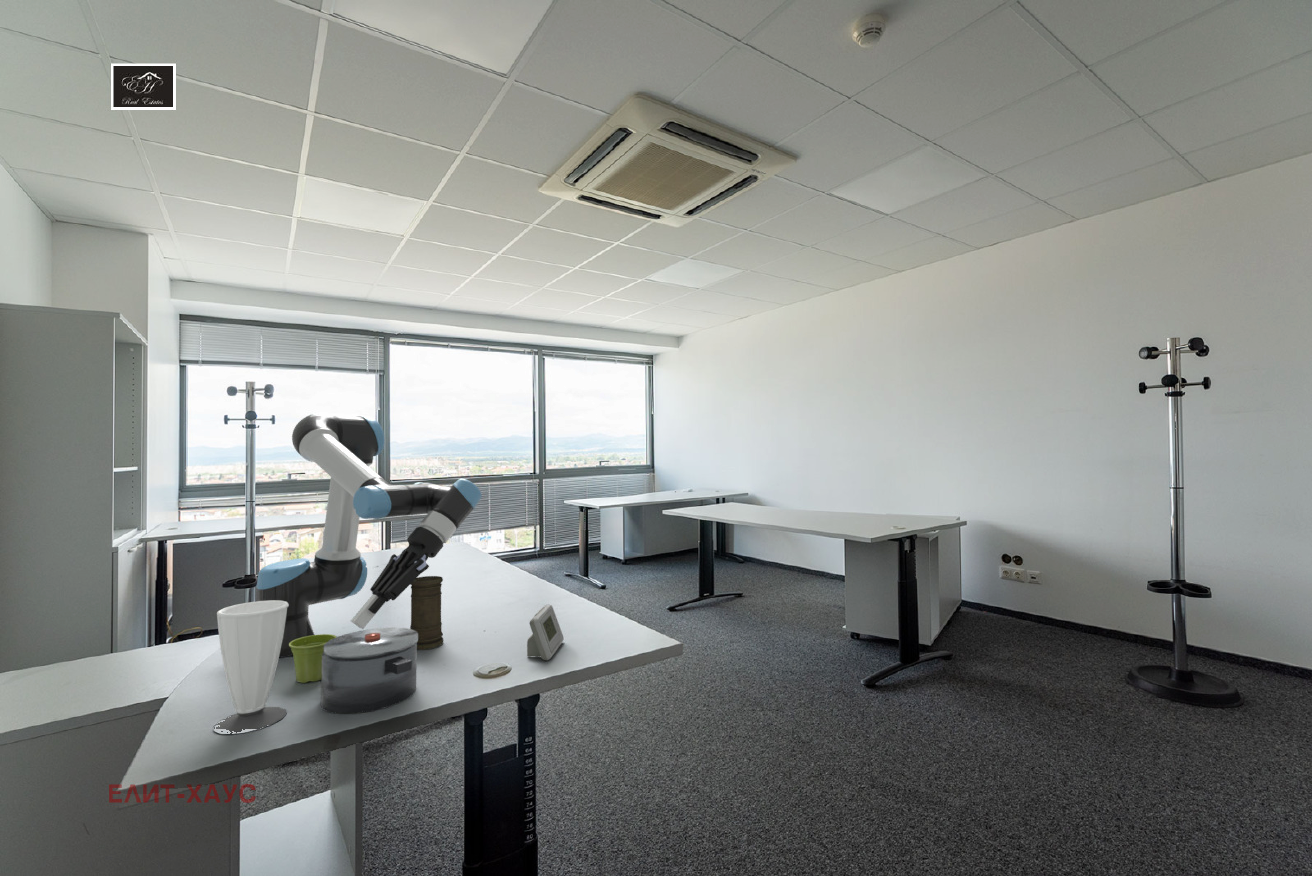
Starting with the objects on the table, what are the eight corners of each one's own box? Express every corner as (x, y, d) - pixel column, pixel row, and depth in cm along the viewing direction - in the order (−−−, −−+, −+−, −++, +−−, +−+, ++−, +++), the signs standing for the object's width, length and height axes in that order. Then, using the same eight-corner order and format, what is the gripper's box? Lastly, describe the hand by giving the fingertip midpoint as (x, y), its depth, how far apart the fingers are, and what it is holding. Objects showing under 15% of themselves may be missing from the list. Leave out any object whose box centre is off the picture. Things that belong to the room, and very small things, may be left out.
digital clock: (548, 663, 135) (548, 619, 136) (515, 660, 137) (515, 617, 138) (574, 643, 151) (574, 603, 152) (544, 640, 153) (544, 602, 154)
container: (433, 650, 146) (434, 582, 147) (401, 650, 147) (402, 581, 148) (449, 640, 155) (450, 575, 156) (419, 639, 156) (419, 575, 157)
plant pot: (345, 673, 130) (345, 636, 131) (308, 688, 121) (309, 648, 122) (315, 669, 133) (316, 632, 134) (278, 683, 124) (279, 644, 125)
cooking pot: (296, 694, 118) (297, 647, 119) (380, 669, 133) (381, 627, 133) (357, 728, 102) (358, 673, 103) (444, 695, 117) (445, 647, 117)
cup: (263, 733, 101) (266, 613, 102) (196, 736, 100) (200, 615, 101) (299, 706, 112) (301, 599, 113) (239, 709, 111) (242, 600, 112)
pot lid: (308, 648, 116) (308, 637, 116) (391, 628, 131) (392, 619, 131) (348, 665, 106) (348, 654, 106) (434, 642, 120) (434, 631, 120)
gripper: (457, 547, 127) (385, 640, 113) (426, 543, 135) (355, 629, 121) (436, 526, 123) (358, 620, 109) (405, 523, 131) (329, 610, 117)
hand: (356, 624), depth 115 cm, fingers closed
